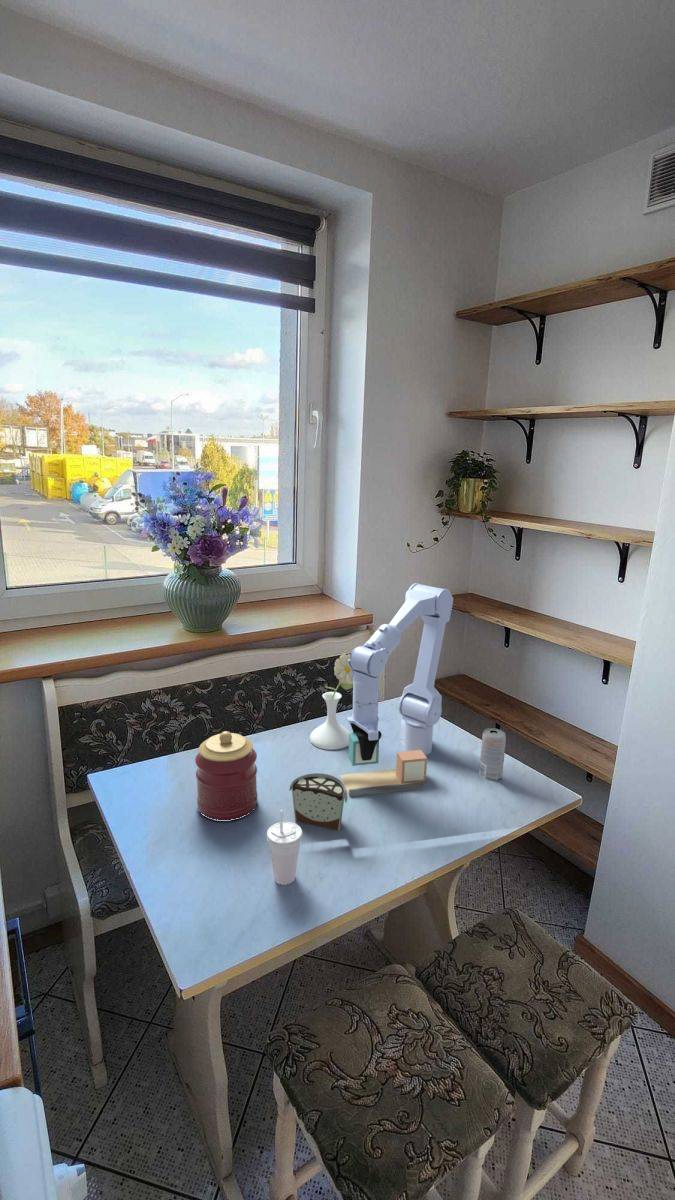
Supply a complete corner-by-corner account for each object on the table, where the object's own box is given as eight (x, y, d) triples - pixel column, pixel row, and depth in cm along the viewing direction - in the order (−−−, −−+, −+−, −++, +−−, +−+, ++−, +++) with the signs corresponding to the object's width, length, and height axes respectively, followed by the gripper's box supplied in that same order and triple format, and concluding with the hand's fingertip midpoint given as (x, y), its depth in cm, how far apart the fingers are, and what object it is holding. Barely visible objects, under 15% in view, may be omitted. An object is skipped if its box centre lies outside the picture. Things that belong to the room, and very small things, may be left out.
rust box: (395, 774, 143) (396, 752, 142) (419, 772, 145) (421, 749, 143) (401, 784, 140) (402, 760, 138) (425, 781, 141) (427, 758, 139)
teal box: (348, 757, 140) (349, 733, 138) (373, 754, 141) (374, 731, 140) (352, 766, 136) (353, 741, 135) (378, 763, 137) (379, 739, 136)
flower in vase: (314, 756, 153) (315, 664, 147) (305, 735, 164) (306, 648, 158) (363, 751, 156) (366, 660, 150) (352, 731, 167) (354, 645, 161)
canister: (185, 805, 132) (181, 731, 127) (233, 782, 141) (231, 713, 137) (221, 831, 123) (218, 753, 119) (269, 805, 133) (269, 732, 128)
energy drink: (499, 773, 147) (504, 728, 144) (503, 785, 142) (508, 739, 139) (477, 772, 148) (481, 727, 145) (480, 783, 143) (484, 737, 140)
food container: (354, 820, 128) (355, 778, 125) (345, 837, 122) (346, 793, 120) (300, 808, 132) (300, 767, 129) (289, 824, 126) (289, 781, 124)
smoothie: (267, 866, 113) (266, 800, 110) (301, 865, 114) (302, 799, 110) (266, 891, 107) (265, 822, 104) (302, 889, 108) (303, 821, 104)
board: (339, 779, 143) (340, 769, 143) (408, 772, 147) (408, 762, 146) (349, 800, 135) (349, 790, 134) (421, 792, 139) (421, 782, 138)
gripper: (340, 688, 141) (339, 740, 144) (356, 714, 127) (354, 772, 131) (369, 685, 142) (368, 738, 146) (388, 712, 129) (386, 769, 132)
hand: (363, 754), depth 138 cm, fingers closed on teal box, 4 cm apart
